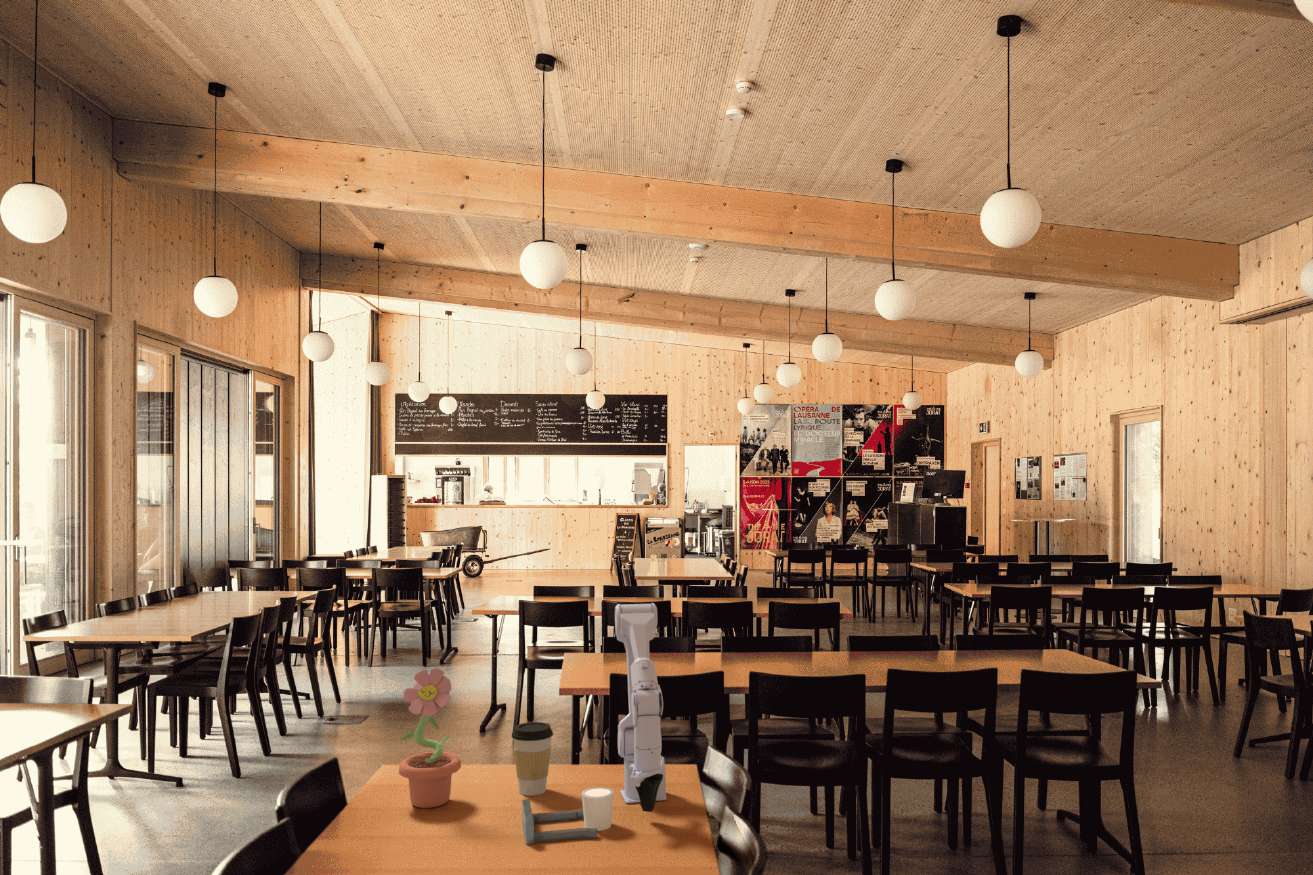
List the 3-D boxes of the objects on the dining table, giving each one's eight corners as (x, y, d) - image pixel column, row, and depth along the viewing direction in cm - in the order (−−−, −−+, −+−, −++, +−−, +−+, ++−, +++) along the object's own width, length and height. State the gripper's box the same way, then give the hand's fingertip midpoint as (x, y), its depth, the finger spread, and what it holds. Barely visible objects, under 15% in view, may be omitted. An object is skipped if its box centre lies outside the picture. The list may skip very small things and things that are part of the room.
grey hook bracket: (589, 814, 193) (589, 793, 194) (598, 838, 180) (598, 816, 180) (522, 820, 190) (522, 798, 191) (526, 845, 177) (526, 822, 177)
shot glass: (601, 834, 182) (601, 799, 182) (575, 827, 186) (574, 794, 186) (620, 823, 188) (620, 789, 188) (594, 817, 192) (594, 784, 192)
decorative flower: (383, 812, 196) (384, 675, 198) (410, 791, 210) (410, 663, 211) (446, 815, 194) (447, 677, 196) (469, 793, 207) (470, 664, 209)
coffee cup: (557, 784, 213) (557, 721, 214) (548, 798, 203) (548, 732, 204) (517, 783, 214) (517, 721, 215) (506, 797, 204) (506, 732, 205)
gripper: (643, 735, 198) (644, 796, 197) (616, 753, 185) (617, 819, 184) (672, 738, 196) (673, 800, 195) (647, 756, 182) (648, 824, 181)
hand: (648, 810), depth 189 cm, fingers closed
